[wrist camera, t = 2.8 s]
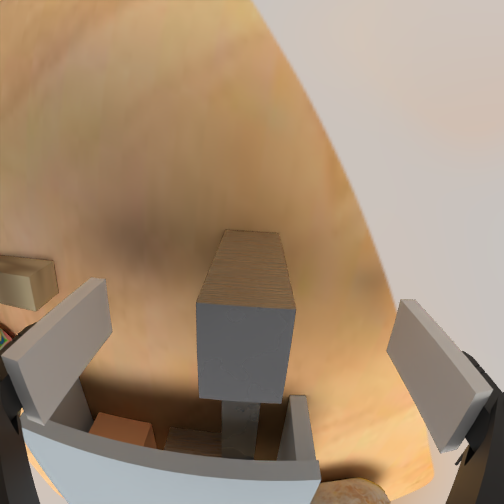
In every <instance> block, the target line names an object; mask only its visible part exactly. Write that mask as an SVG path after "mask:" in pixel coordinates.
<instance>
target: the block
mask: <svg viewBox="0 0 504 504" xmlns="http://www.w3.org/2000/svg"><path fill="white" fill-rule="evenodd" d="M89 433H90V434H94V435H97V436H101V437H105V438H109V439H113V440H117V441H121V442H125V443H129V444H134V445H138V446H143V447H148V448H153V449H157V446H156V442H155V437H154V433H153V429H152V424H151V423H147V422H142V421H137V420H132V419H127V418H123V417H118V416H114V415H110V414H106V413H101V412H99V413H98V415H97V417H96V419H95V421H94V423H93V425H92V427H91V429H90V431H89Z"/></svg>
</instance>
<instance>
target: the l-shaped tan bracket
mask: <svg viewBox="0 0 504 504" xmlns="http://www.w3.org/2000/svg"><path fill="white" fill-rule="evenodd" d="M58 293H59V292H58V286H57V280H56V274H55V267H54V261H49V260H40V259H31V258H22V257H14V256H5V255H0V303H2V304H6V305H10V306H14V307H18V308H23V309H27V310H32V311H37V310H39V309H40V308H41V307H42V306H43V305H44V304H46V303H47V302H48V301H49V300H50V299H52V298H53V297H54V296H55V295H56V294H58Z"/></svg>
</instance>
